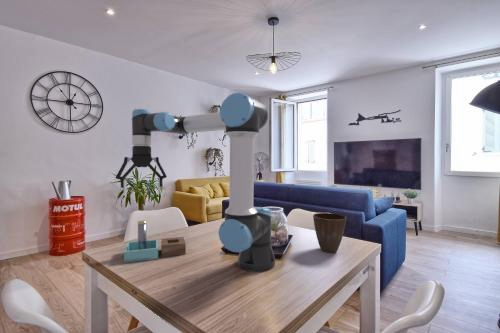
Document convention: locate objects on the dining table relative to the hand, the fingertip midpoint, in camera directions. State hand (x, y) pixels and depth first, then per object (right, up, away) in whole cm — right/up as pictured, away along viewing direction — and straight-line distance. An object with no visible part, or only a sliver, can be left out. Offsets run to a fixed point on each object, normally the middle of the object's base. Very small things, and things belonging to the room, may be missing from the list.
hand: (142, 194), depth 113 cm
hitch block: (+12, -27, +5) cm, 30 cm away
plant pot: (+84, -27, +9) cm, 89 cm away
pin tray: (0, -27, +1) cm, 27 cm away
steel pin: (0, -26, +1) cm, 26 cm away
